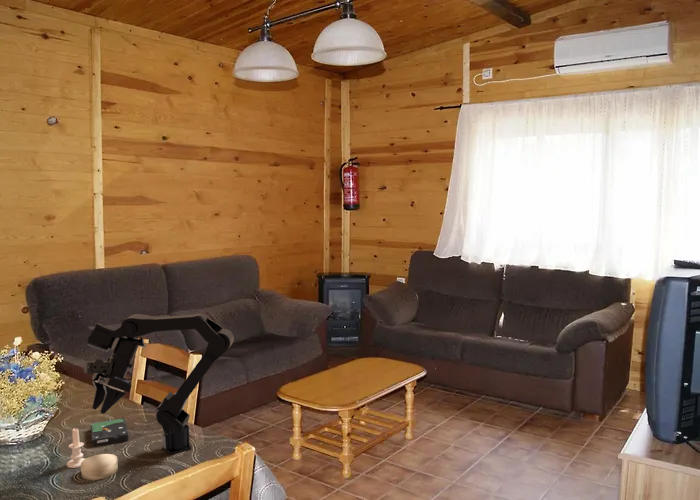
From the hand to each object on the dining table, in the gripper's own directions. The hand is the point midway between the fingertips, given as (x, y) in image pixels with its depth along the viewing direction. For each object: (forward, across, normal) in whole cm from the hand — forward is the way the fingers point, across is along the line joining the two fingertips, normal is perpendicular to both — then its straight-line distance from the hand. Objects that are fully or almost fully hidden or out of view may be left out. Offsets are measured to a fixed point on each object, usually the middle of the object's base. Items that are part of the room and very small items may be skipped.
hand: (97, 411), depth 168 cm
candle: (+15, -4, +2) cm, 16 cm away
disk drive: (+7, -19, +12) cm, 24 cm away
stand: (+14, +5, +6) cm, 16 cm away
